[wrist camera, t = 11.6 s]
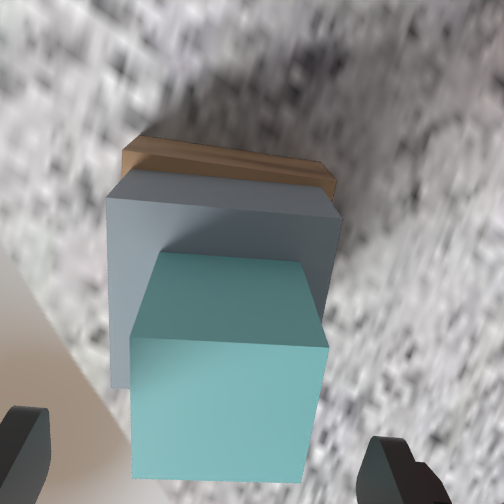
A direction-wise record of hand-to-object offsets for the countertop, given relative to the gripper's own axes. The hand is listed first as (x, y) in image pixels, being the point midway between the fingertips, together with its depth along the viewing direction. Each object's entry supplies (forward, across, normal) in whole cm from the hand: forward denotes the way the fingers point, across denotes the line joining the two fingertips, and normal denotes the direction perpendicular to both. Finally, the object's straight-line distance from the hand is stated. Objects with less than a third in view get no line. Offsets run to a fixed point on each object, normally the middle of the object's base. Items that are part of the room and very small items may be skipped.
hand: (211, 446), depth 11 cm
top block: (+10, 0, 0) cm, 10 cm away
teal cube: (+6, 0, 0) cm, 6 cm away
